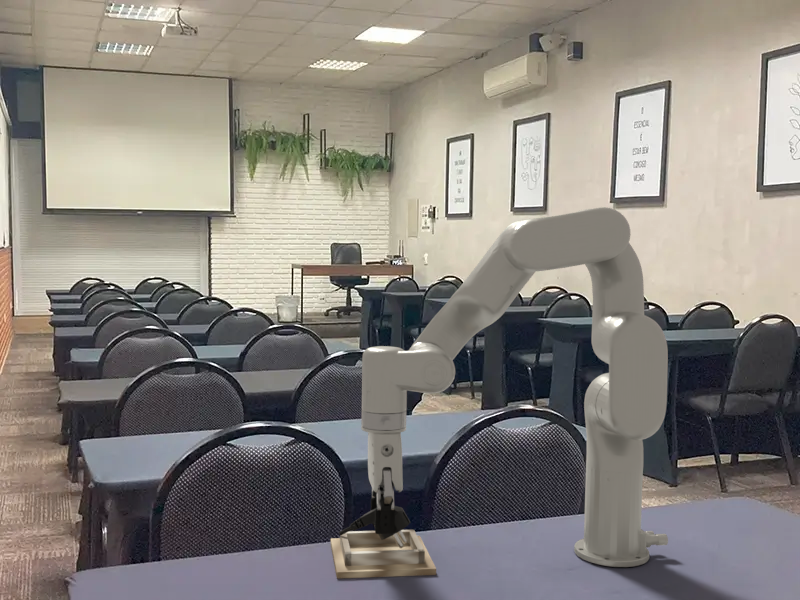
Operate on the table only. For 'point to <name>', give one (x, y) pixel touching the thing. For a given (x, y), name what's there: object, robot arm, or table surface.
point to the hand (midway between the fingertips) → (382, 525)
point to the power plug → (369, 518)
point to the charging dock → (380, 555)
